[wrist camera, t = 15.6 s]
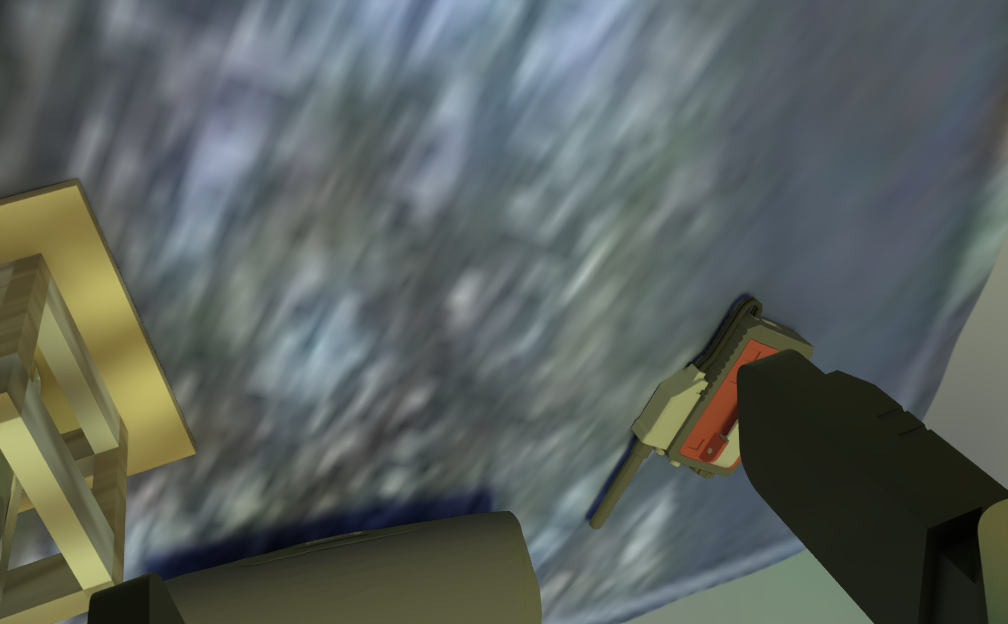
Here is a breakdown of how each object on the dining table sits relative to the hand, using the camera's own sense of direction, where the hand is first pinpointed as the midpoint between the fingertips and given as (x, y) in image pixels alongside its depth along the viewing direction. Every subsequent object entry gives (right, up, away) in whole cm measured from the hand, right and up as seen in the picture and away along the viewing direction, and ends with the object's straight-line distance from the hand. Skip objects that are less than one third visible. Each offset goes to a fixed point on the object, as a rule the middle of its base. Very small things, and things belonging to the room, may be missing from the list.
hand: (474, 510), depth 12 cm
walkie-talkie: (+14, -5, +54) cm, 56 cm away
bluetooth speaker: (-11, -14, +49) cm, 52 cm away
